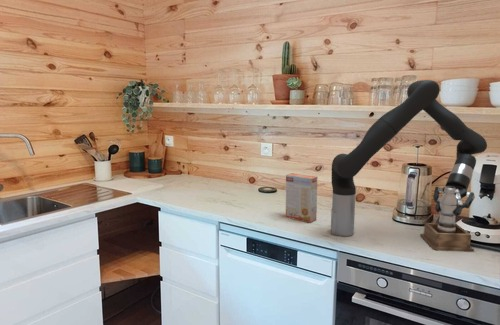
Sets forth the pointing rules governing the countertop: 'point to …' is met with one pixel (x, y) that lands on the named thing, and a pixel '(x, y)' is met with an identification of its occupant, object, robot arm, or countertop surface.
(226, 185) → the countertop surface
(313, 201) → the cracker box
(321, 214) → the countertop surface
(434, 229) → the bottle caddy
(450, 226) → the plastic bottle
